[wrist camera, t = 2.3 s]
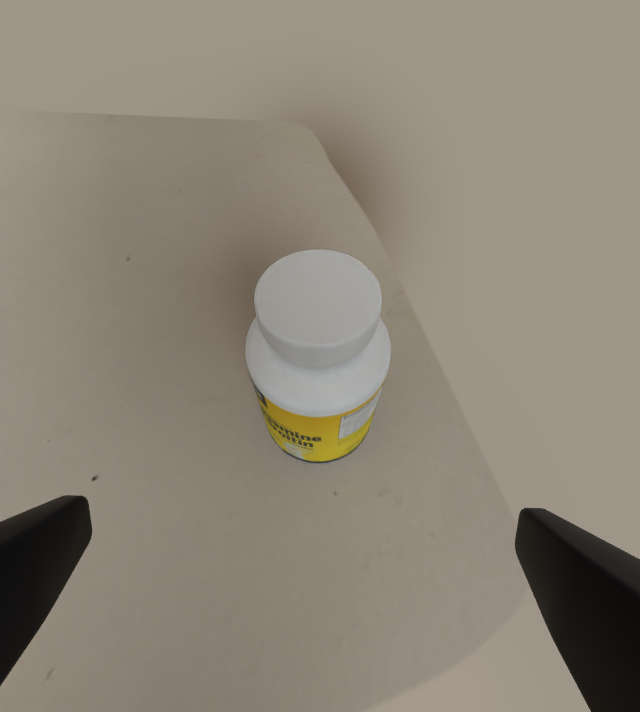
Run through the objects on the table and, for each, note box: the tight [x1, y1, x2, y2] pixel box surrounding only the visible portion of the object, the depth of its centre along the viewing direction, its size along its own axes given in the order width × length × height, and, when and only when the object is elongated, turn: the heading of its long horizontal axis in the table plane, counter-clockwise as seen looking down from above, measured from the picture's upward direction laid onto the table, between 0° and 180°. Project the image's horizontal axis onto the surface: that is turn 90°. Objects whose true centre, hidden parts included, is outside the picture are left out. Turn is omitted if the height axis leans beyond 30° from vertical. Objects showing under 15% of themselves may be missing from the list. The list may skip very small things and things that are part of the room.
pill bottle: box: [245, 249, 391, 464], centre depth 18 cm, size 6×6×12 cm
